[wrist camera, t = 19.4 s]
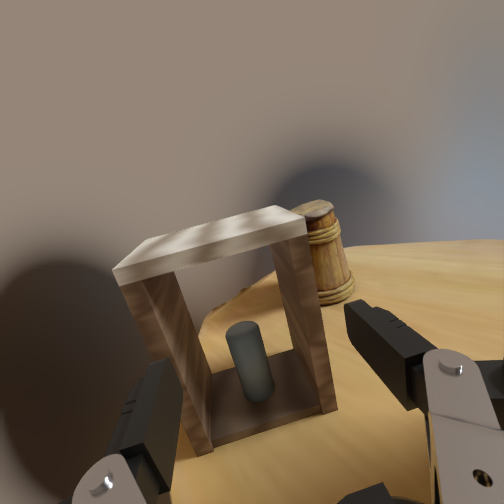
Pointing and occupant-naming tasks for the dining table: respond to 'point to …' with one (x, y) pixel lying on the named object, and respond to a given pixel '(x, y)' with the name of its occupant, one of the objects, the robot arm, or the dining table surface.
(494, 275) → the dining table surface
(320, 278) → the tankard
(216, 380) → the open wooden box frame
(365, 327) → the robot arm
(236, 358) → the grey cylinder
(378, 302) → the dining table surface
